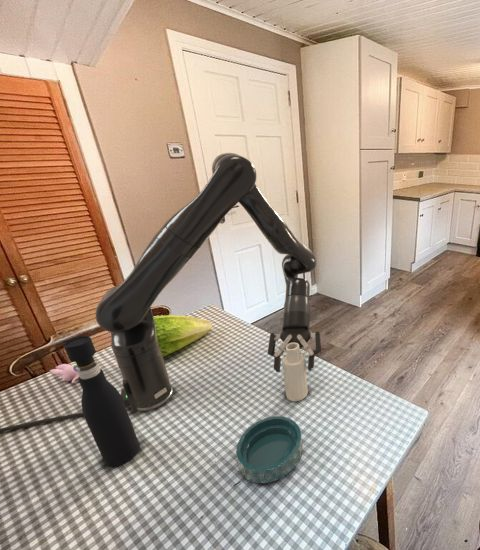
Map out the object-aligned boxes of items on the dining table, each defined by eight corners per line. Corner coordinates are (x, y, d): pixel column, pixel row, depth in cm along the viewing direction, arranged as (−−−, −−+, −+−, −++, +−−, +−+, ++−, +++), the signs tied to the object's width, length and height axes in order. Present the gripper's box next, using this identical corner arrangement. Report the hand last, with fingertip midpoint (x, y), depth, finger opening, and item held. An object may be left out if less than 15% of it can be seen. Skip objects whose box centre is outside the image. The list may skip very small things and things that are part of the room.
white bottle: (290, 404, 82) (285, 355, 76) (283, 391, 87) (277, 344, 81) (311, 395, 85) (307, 348, 79) (302, 383, 90) (298, 337, 84)
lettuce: (227, 322, 111) (206, 296, 115) (157, 344, 91) (136, 310, 95) (215, 346, 117) (196, 320, 121) (148, 371, 97) (128, 339, 102)
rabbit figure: (108, 378, 93) (65, 366, 95) (104, 363, 91) (61, 351, 92) (87, 393, 87) (42, 380, 89) (83, 377, 85) (37, 364, 87)
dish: (248, 499, 60) (245, 484, 58) (233, 447, 70) (230, 433, 68) (312, 463, 67) (310, 448, 65) (289, 421, 77) (288, 407, 75)
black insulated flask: (121, 470, 65) (72, 353, 54) (96, 464, 66) (44, 349, 55) (146, 444, 71) (107, 334, 60) (124, 439, 72) (81, 330, 61)
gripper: (268, 310, 84) (263, 371, 78) (320, 309, 85) (319, 368, 79) (274, 317, 91) (270, 373, 85) (322, 316, 92) (321, 371, 86)
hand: (293, 371), depth 82 cm, fingers open, 8 cm apart
